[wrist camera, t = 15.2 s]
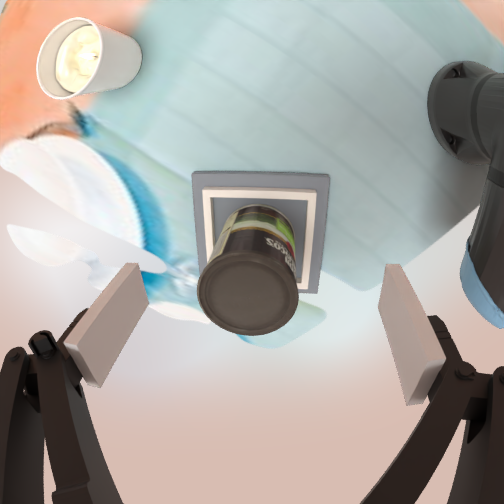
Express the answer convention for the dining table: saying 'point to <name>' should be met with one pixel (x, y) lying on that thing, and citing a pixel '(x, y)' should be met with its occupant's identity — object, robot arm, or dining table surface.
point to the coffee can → (251, 273)
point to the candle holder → (86, 59)
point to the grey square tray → (268, 193)
